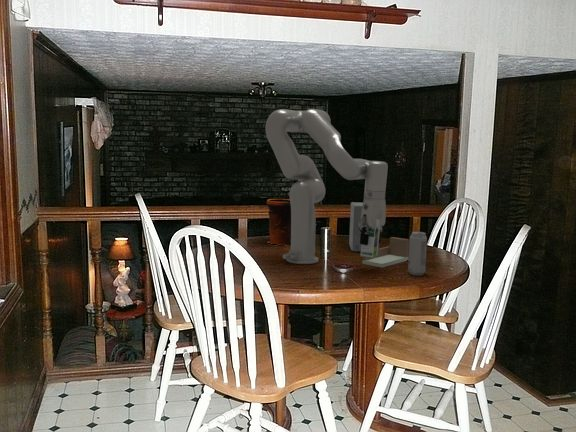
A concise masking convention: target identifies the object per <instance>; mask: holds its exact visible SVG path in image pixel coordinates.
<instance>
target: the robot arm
mask: <svg viewBox="0 0 576 432" xmlns="http://www.w3.org/2000/svg"><path fill="white" fill-rule="evenodd" d="M288 132H289V133H307V134H308V135H309V136H310V137H311V138H312V139H313V141H315V143H316V144H318V146H319V147H320V148H321V149H322V150H323V153H324V156H325V157H326V160H327V161H328V163H330V165H331V167H332V168H333V169H335V171H336V172H337V173H339V175H340V176H341V177H342V178H343V179H345V180H348V181H354V180H355V181H357V180H365V181H364V191H363V201H362V203H363V205H362V211H361V219H360V221H359V222H358V227H359V230H360V233H361V236H360V244H363V245H368V239H369V234H368V232H369V229H370V227H371V228H374V227H376V220H377V218H380V224H379V226H380V234H379V244H380V243H381V241H382V232H383V229H384V226H385V224H386V222H387V221H386V219H387V218H386V215H387V214H386V213H387V204H386V202H387V201H386V190H387V189H386V188H387V179H388V171H389V170H388V168H389V166H388V163H387V162H386V161H380V160H368V159H363V158H353V157H352V156H351V155H350V154H349V152H348V151H347V150H346V149H345V148H344V147H343V145H342V142H341V140H342V136H341V133H340V132H339V131H338V130H337V129H336V128H335V127H334V126H333V125H332V124H331V118H330V115H329V114H328V113H327V111H325V110H323V109H315V108H309V109H307V110H294V109H293V110H292V109H286V108H282V109H276V110H274V111H273V112H271V114H269V116H268V117H267V120H266V123H265V135H266V138H267V141H268V142H269V144H270V147H271V149H272V151H273V153H274V156H275V158H276V161H277V163H278V164H279V167H280V170H281V171H282V174H283V176H284V177H285V178H286V179H288V180H297V181H296V182H295V183H293V185H291V188H290V190H289V199H290V204H291V245H290V249H289V250H288V252H287V253H283V254H282V259H284V260H286V261H287V263H290V264H296V265H311V264H312V265H313V264H317V263H318V262H319V257H317V256H315V255H316V224H317V222H316V221H317V220H316V219H317V217H316V215H317V214H316V208H315V204H317V203H319V202H321V201H323V200H324V198H325V195H326V186H325V184H324V181H323V179H322V177H321V174H320V172H319V171H318V168H317V166H316V164H315V162H314V161H313V159H312V158H310V156H308V155H304V154H300V153H299V152H298V150H297V147H296V145H295V143H294V142H293V139H292V138H291V137H290V136H289V133H288ZM364 222H365V223H366V224H367V225H364ZM364 227H365V228H366V229H365V228H364Z"/></svg>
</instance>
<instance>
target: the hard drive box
mask: <svg viewBox="0 0 576 432" xmlns="http://www.w3.org/2000/svg"><path fill="white" fill-rule="evenodd" d="M362 205H363V202H358V201H357V202H355V201H354V202H353V201H352V202H350V217H349V237H348V238H349V239H348V241H349V242H348V243H349V244H348V245H349V247H350V250H351V251H352V252H361V245H362V244H360V236H361V233H360V230H359V227H358V222H359V221H360V219H361V211H362Z"/></svg>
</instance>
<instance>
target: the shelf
mask: <svg viewBox="0 0 576 432" xmlns="http://www.w3.org/2000/svg"><path fill="white" fill-rule="evenodd" d="M409 242H410V238H409V239H408V238H403V237H402V238H401V237H395V236H394V237H393V236H391V237H389V245H388V246H384V247H380V248H379V247H378V254H377V256H376V258H373V257H366V256H362V263H361V264H362V265H367V266H372V267H377V268H385V267H389V266H392V265H397V264H400V263H403V262H407V260H408V261H409Z"/></svg>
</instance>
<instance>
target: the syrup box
mask: <svg viewBox="0 0 576 432" xmlns="http://www.w3.org/2000/svg"><path fill="white" fill-rule="evenodd" d="M379 224H380V218H377V220H376V227H374V228H371V227H370V229H369V232H368V234H369V239H368V245H363V244H362V245H361V251H360V257H363V256H366V257H373V258H376V256H377V254H378V249H379V244H380V243H379V234H380V226H379ZM364 225H367V224H366V223H365V222H364ZM364 228H365V227H364ZM365 229H366V228H365Z"/></svg>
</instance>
